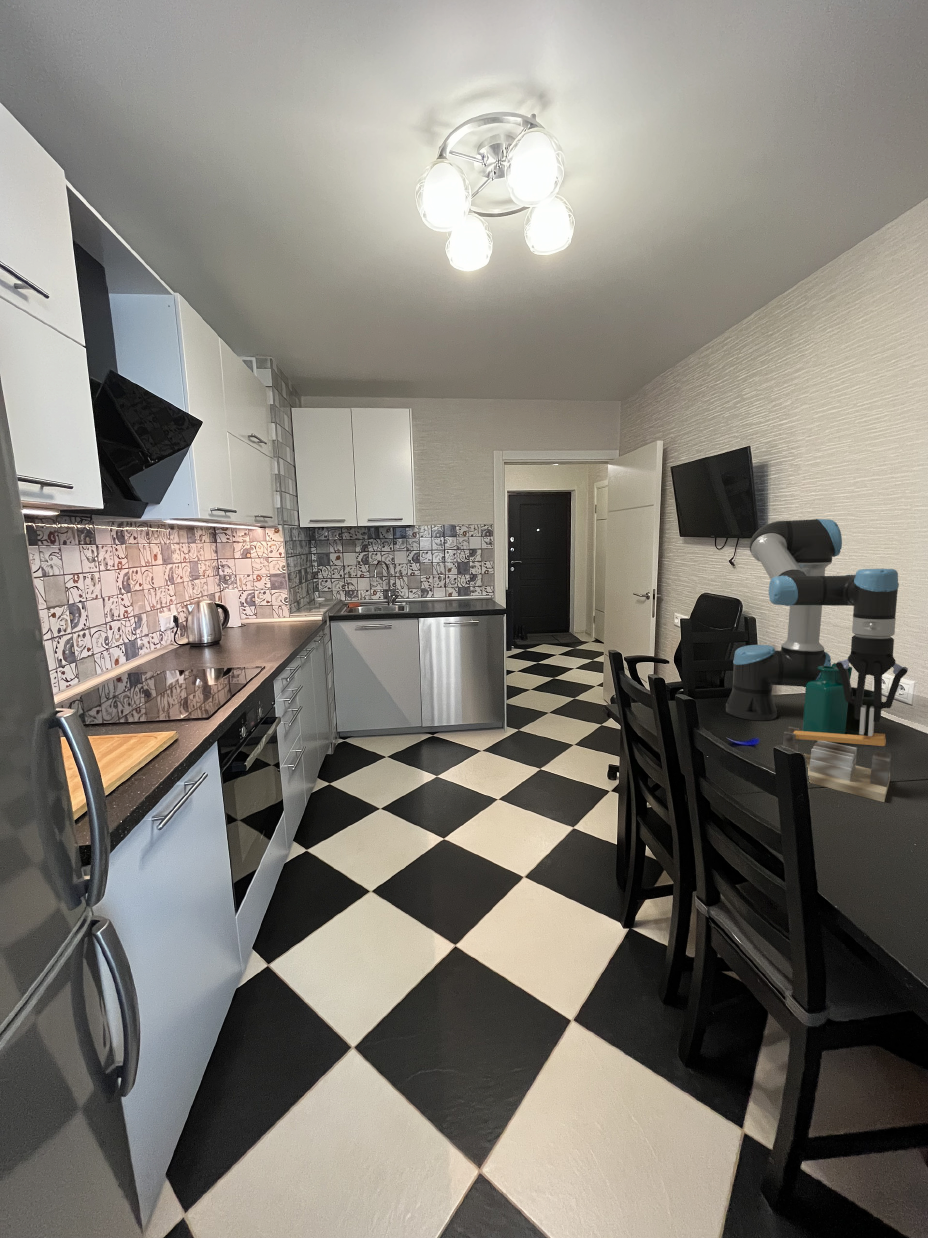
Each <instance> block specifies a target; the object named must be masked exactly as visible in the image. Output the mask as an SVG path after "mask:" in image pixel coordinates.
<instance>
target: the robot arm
mask: <svg viewBox="0 0 928 1238" xmlns="http://www.w3.org/2000/svg"><path fill="white" fill-rule="evenodd" d="M842 545H843V537H842V532H841V529H840V527H839V525H838V523H837V522H836V521H835V520H834V519H833V520H832V519H827V518H826V519H825V518H824V519H822V518H814V519H813V518H812V519H799V520H798V519H794V520H777V521H772V522H770V523H767V524H766V525H763V526H761V527H760V528H759V529H758V530H756V531H755V533H754V534H753V535H752V537H751V538H750V541H749V551H750V553H751V556H752V557H753V558H754V559H755V560H756V561H758V562H760V564H761V565H762V567H763V569H764V570H765V572H766V574H767V575H768V577H769V580H770V581H769V582H768V583H769V584H768V596H769V598H768V599H769V602H770V603H771V604H773V605H777V606H786V607H789V609H788V610H789V611H788V612H789V613H788V626H787V639H786V641H784V642H782V644H781V646H780V649H779V650H776V648H775V647H774V646H772V645H769V644H751V645H750V644H749V645H744V646H741V647H739V648H737V649H736V650H735V651H734V657H733V661H732V663H733V675H732V688H731V689H732V690H731V692H730V694H729V697H728V698H727V701H726V704H725V712H726V713H727V714H729V715H732V716H734V717H736V718H740V719H744V720H750V721H761V722H762V721H763V722H764V721H772V720H774V719H776V718H777V716H778V709H777V707H776V703H775V700H774V696H773V686H781V687H782V686H784V687H803V688H806V684H807V683H808V682H810V681H814V680H819V679H820V674H821V670H819V669H818V668H817V667H818V666H832V662H831V661H832V658H831V655H830V654H829V652H827V651H825V647H824V646H823V645H822V643H820V635H821V624H822V622H821V621H822V611H823V606H831V607H832V606H833V607H835V606H837V607H838V606H839V607H840V606H841V607H844V606H845V607H848V606H849V607H850V606H851V607H853V612H852V613H853V614H852V627H851V632H852V634H854V635H852V636H851V643H850V644H851V645H850V654H849V655H848V657H847V658H845V659H844V660H843V659H842V660H838V661H837V662H835V663H836V667H837V668H838V670H839V671H840V674H841V679H842V684H843V690H844V695H845V700H846V702H848V703H851V704H853V705H854V706H855V715H854V717H855V719H859V720H860V730H859V734H861V735H862V736H865V735H864V732H865V720H866V705H862V703H863V696H864V689H866V688H865V686H866V679H867V676H872V677H873V691H874V707H873V706H871V707H870V713H869V729H868V735H867V736H873V733H875V731H874V722H875V723H877V724H878V723H880V721H881V719H882V710H883V709H891V708H892V705H893V702H894V700H895V697H896V694H897V691H898V688H899V686H900V683H901V681H902V678H903V677H904V676H905V675H906V674H907V673H908V672H909V671H908V670H909V668H908V667H906V666H902V665H901V664H899V663H896V659H895V657H894V648H895V647H894V645H895V638H893V636H894V635H895V634H896V633H895V632H896V619H897V618H896V615H897V614H896V613H897V602H898V591H899V587H900V583H899V573H898V571H897V570H896V569H895V568H860V569H858V570H857V571H856V573H855V574H846V575H845V574H844V575H826V568H827V567H829V565H831V564H832V563H833V558H835V557H838V556H839V555H840V554H841V550H842V548H843V547H842ZM850 665H851V667H852V668H853V669H854V670H855V671H856V673H858V675H857V684H856V688H857V691H856V698H854V697H853V694H852V689H851V687H852V684H851V678H849V673H848V668H849V667H850ZM891 668H893V671H892V673H893V674H894V676H893V679H892V682H891V685H890V688H889V690H888V694H887V696H886V699H885V701H883V697H882V696H883V684H882V683H883V675H885V674H886V673H887V672H888V671H890V670H891Z"/></svg>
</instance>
